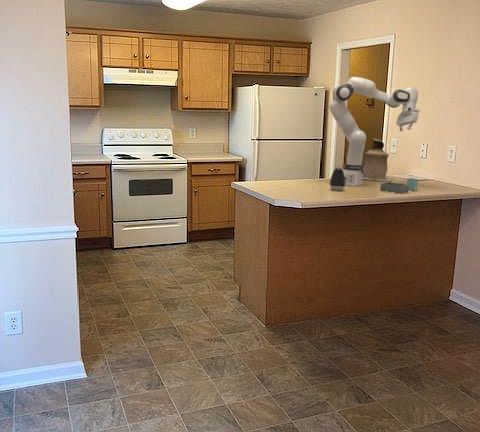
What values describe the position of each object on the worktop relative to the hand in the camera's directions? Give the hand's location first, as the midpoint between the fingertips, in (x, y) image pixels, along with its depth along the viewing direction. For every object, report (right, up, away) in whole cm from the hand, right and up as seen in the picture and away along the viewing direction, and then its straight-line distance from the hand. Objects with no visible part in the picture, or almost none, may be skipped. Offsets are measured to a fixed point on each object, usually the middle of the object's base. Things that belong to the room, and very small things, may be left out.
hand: (404, 130), depth 363 cm
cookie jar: (-9, -31, +48) cm, 58 cm away
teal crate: (+3, -42, -4) cm, 42 cm away
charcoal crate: (-11, -43, -13) cm, 47 cm away
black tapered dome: (-51, -43, -18) cm, 69 cm away
